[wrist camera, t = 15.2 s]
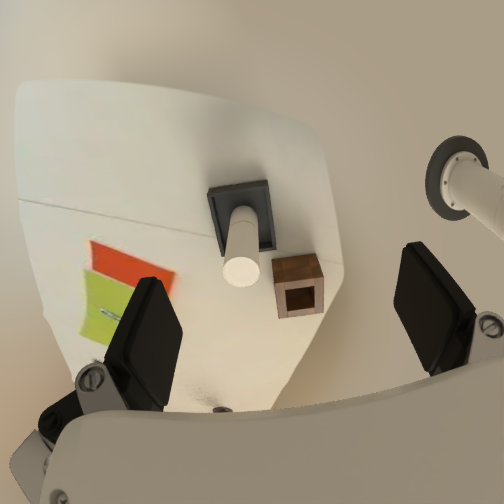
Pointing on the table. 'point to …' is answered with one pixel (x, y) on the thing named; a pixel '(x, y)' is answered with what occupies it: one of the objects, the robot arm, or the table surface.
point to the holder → (298, 286)
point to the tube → (242, 248)
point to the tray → (242, 195)
